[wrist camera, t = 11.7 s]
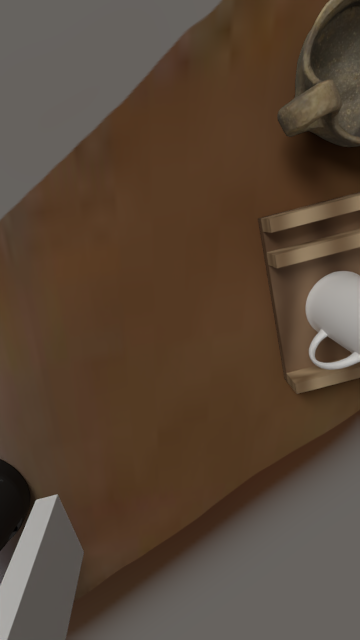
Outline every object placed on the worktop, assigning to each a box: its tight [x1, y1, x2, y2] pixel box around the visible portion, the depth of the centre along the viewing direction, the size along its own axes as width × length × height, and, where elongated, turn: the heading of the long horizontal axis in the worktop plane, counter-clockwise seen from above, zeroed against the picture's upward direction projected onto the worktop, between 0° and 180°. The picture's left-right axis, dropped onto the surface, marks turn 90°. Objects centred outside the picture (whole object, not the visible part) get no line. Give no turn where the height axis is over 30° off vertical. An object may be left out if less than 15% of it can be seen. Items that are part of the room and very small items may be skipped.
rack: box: [258, 192, 360, 394], centre depth 41 cm, size 14×22×4 cm, turn 14°
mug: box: [305, 271, 360, 370], centre depth 37 cm, size 12×8×12 cm
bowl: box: [278, 0, 360, 147], centre depth 32 cm, size 14×18×10 cm
